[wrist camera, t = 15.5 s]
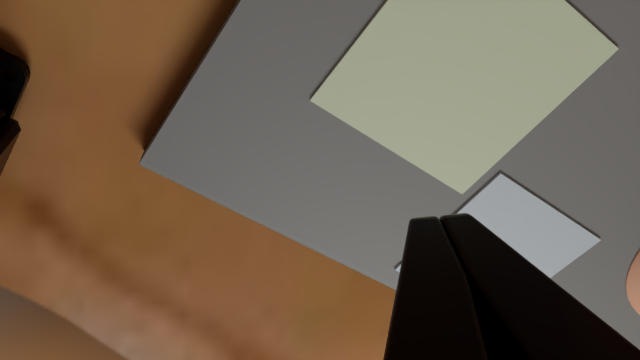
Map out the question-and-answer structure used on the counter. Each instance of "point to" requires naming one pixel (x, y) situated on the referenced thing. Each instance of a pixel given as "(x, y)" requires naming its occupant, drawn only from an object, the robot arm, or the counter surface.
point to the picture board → (426, 131)
